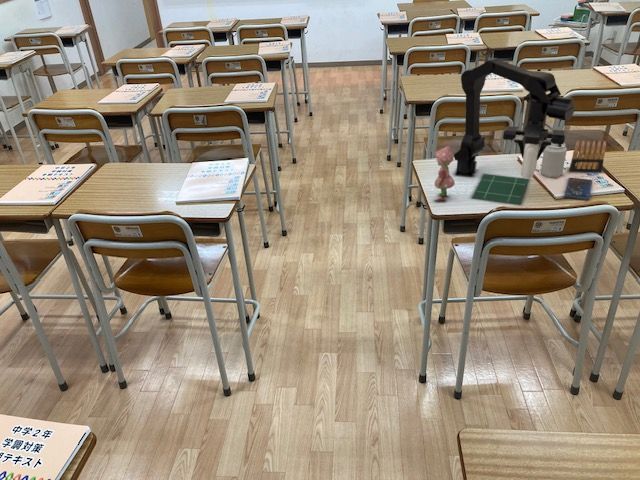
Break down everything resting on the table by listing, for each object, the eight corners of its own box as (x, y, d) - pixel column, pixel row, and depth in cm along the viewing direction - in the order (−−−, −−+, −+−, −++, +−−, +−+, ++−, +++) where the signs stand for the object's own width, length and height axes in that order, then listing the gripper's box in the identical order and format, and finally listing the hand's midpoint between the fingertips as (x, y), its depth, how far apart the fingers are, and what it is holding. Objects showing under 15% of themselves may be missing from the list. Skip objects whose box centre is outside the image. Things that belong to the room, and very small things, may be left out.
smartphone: (592, 179, 172) (589, 198, 162) (591, 181, 173) (588, 200, 162) (568, 177, 176) (564, 195, 165) (568, 179, 176) (563, 197, 166)
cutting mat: (472, 198, 172) (472, 197, 171) (483, 174, 186) (483, 173, 186) (519, 204, 165) (520, 203, 164) (528, 179, 179) (528, 178, 179)
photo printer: (523, 165, 172) (529, 132, 166) (536, 166, 171) (542, 133, 164) (519, 177, 165) (524, 143, 158) (532, 179, 163) (538, 145, 156)
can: (564, 178, 177) (569, 147, 171) (542, 178, 179) (547, 147, 173) (559, 169, 183) (565, 139, 177) (538, 169, 185) (543, 140, 179)
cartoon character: (450, 206, 168) (453, 152, 157) (429, 203, 171) (431, 151, 160) (456, 193, 176) (459, 141, 165) (437, 191, 178) (439, 139, 168)
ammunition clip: (600, 170, 180) (607, 139, 173) (601, 172, 178) (608, 141, 172) (568, 169, 183) (574, 139, 176) (569, 171, 181) (575, 141, 175)
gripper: (502, 120, 155) (497, 165, 163) (567, 125, 147) (557, 172, 155) (508, 109, 163) (503, 152, 171) (570, 113, 155) (561, 158, 163)
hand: (530, 158), depth 165 cm, fingers closed on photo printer, 4 cm apart
